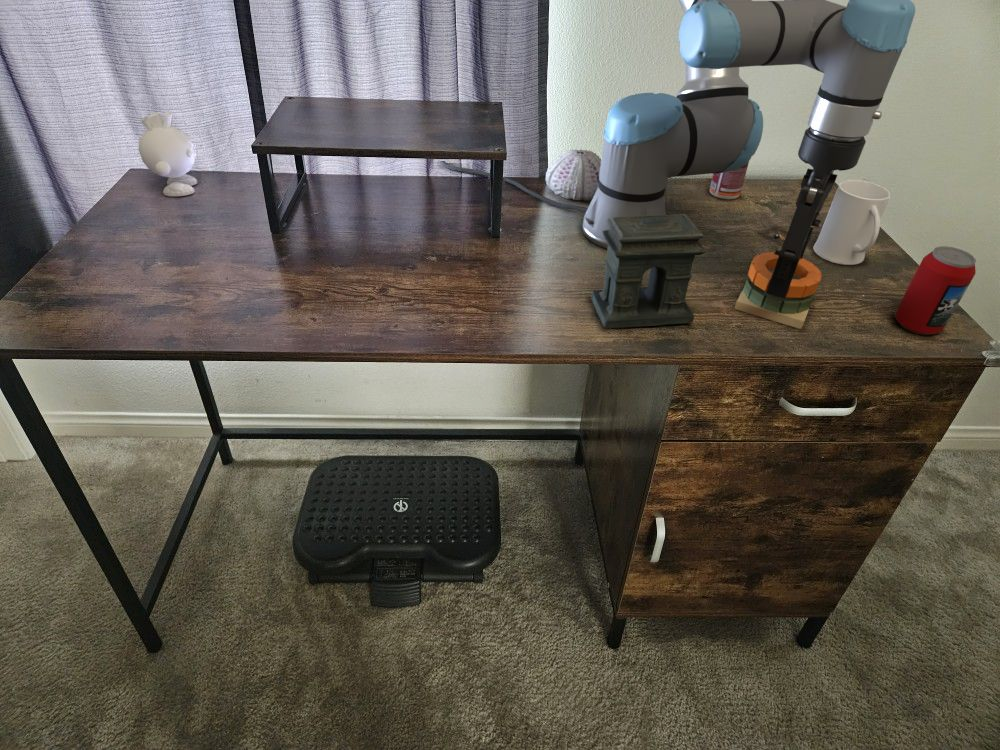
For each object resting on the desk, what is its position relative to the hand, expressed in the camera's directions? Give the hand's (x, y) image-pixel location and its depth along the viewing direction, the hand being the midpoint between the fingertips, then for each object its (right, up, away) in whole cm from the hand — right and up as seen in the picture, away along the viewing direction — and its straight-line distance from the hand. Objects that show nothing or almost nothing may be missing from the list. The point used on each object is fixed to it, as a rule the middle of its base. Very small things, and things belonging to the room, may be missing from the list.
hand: (783, 278), depth 99 cm
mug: (+17, +6, +15) cm, 24 cm away
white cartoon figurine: (-106, +21, +27) cm, 111 cm away
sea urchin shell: (-28, +23, +33) cm, 49 cm away
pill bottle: (+3, +23, +35) cm, 41 cm away
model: (-22, -5, 0) cm, 23 cm away
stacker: (0, -3, +3) cm, 5 cm away
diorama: (+8, +10, +21) cm, 25 cm away
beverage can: (+20, -7, 0) cm, 21 cm away
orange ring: (0, 0, 0) cm, 0 cm away
